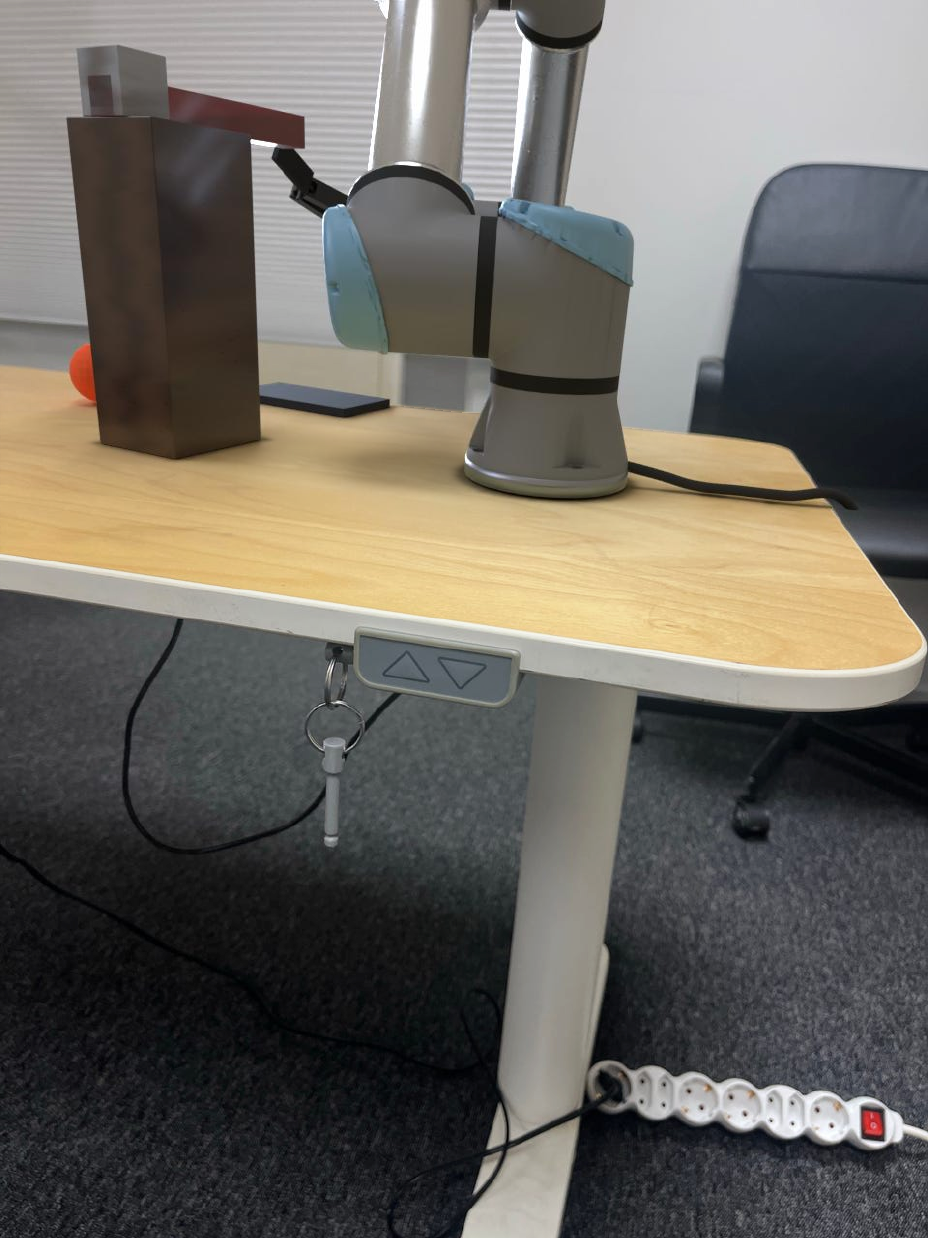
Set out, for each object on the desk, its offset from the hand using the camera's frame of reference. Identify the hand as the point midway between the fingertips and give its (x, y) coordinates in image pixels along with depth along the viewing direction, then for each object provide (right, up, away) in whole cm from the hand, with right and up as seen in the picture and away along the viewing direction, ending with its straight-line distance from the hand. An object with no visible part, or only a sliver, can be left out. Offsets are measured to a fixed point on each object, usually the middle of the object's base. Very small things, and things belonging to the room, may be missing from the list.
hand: (325, 147), depth 98 cm
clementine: (-27, -26, +8) cm, 39 cm away
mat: (-5, -24, +16) cm, 29 cm away
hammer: (-9, -6, -14) cm, 18 cm away
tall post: (-13, -34, -8) cm, 37 cm away
